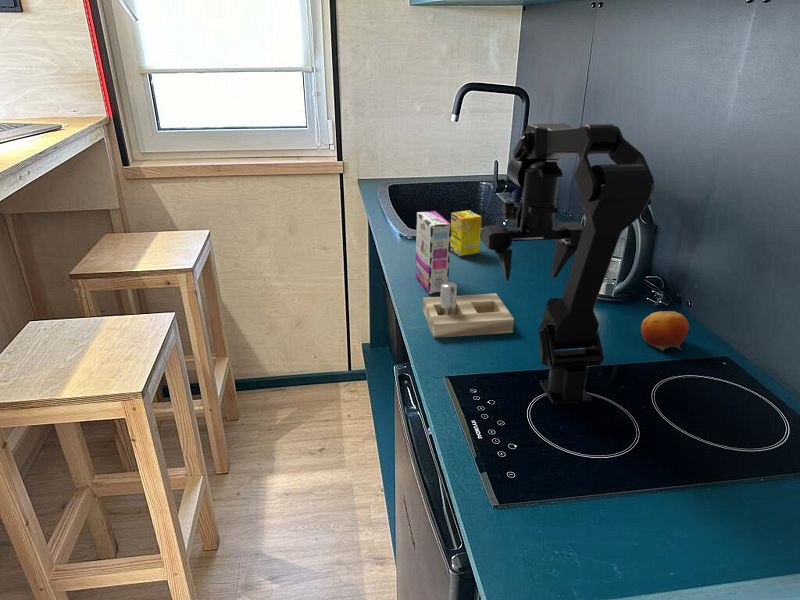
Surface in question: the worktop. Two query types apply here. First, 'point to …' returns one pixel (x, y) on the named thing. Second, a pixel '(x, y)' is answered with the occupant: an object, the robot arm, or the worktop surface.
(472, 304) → the socket block
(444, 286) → the pin
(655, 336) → the fruit
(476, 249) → the supplement box
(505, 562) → the worktop surface
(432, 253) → the candy bar box
